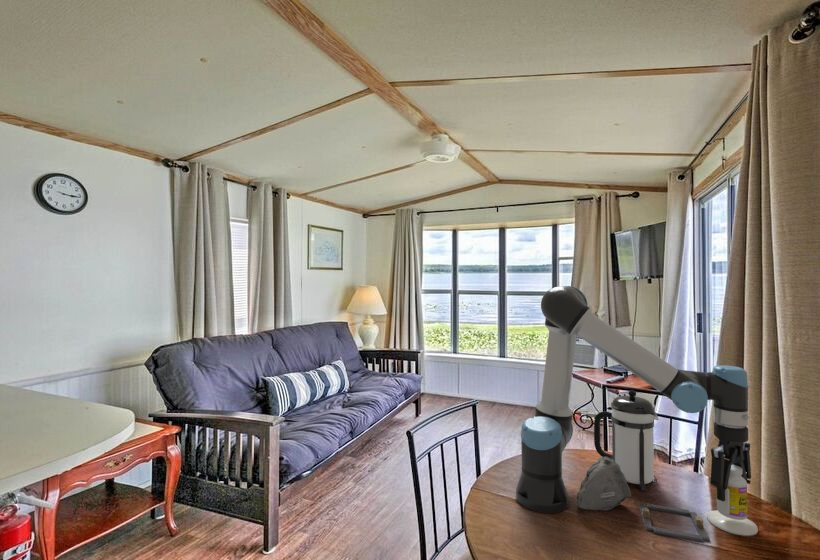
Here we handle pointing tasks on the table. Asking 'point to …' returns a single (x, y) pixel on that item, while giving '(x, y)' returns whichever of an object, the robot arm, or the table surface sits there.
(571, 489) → the table surface
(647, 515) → the grey square frame
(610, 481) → the decorative rock
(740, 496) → the supplement bottle
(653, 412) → the coffee press
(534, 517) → the table surface
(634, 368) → the robot arm
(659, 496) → the table surface
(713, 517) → the coaster
